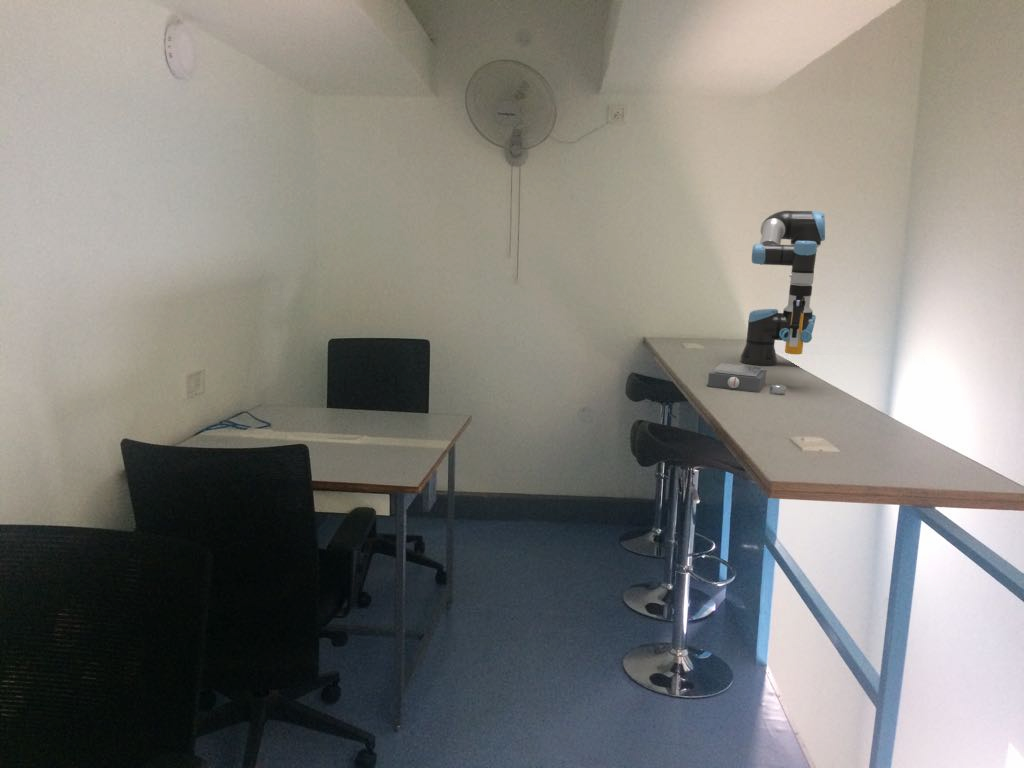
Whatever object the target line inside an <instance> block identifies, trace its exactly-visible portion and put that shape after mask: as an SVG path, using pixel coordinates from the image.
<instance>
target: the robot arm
mask: <svg viewBox="0 0 1024 768" xmlns="http://www.w3.org/2000/svg"><path fill="white" fill-rule="evenodd" d="M825 218H826V217H825V214H824V212H822V211H816V210H782V211H777V212H774V213H773V214H771V215H770V216H767V218H765V220H763V222H762V223H761V226H760V235H761V237H760V242H759V243H754V244H753V245H752V251H751V262H752V264H754V265H755V264H756V265H763V266H764V265H765V266H767V265H769V266H788V267H789V266H790V267H791V273H790V274H789V276H788V277H790V283H789V292H788V300H787V302H788V303H787V305H786V306H785V307H784V308H783V311H782V312H779V310H778V309H777V308H766V309H765V308H764V309H755V310H752V311H750V312H749V315H748V320H747V331H746V332H747V334H746V343H745V346H744V348H743V349H742V353H741V354H740V359H739V360H740V362H741V363H742V364H747V365H751V366H764V367H765V366H766V367H767V366H776V365H777V363H778V362H777V361H778V357H777V354H776V348H775V343H776V341H783V340H782V339H781V337H780V335H779V333H780V331H781V330H782V329H784V328H786V329H788V330H789V331H790V328H791V333H790V342H789V346H790V347H797V344H798V335H799V323H800V317H801V313H802V312H803V313H804V316H803V325H802V330H804V329H806V330H808V332H810V333H811V335H812V336H813V332H814V327H815V321H816V318H817V316H816V315H815V314H814V313H813V309H812V308H811V307H810V304H811V297H812V292H813V284H814V276H815V273H814V272H815V265H816V258H817V252H818V248H820V247H821V244H822V242H824V241H825V240H826V222H825V221H826V220H825ZM782 240H789V241H790V244H782ZM792 312H793V317H792ZM791 318H792V324H791ZM784 331H786V330H784ZM784 331H783V332H784ZM783 332H782V334H783ZM786 337H788V332H786V333H785V335H784V338H786ZM806 337H807V333H805V334H803V339H805V338H806ZM809 338H810V336H809V337H808V339H807V340H809ZM807 340H806V341H807Z"/></svg>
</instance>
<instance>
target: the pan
mask: <svg viewBox="0 0 1024 768" xmlns="http://www.w3.org/2000/svg"><path fill="white" fill-rule="evenodd" d="M716 366H717V365H716ZM716 366H715V367H716ZM715 367H714V368H715ZM714 368H713V369H714ZM761 370H763V366H762V367H761V366H755V365H742V364H734V363H733V364H731V363H724V362H723V363H721V362H720V364H719V366H717V367H716V368H715V369H714V372H717V373H727V374H736V375H745V376H755V377H757V376H758V374H759V373H760V372H761Z"/></svg>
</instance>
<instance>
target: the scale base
mask: <svg viewBox="0 0 1024 768" xmlns="http://www.w3.org/2000/svg"><path fill="white" fill-rule="evenodd" d="M719 365H720V364H719ZM719 365H716V366H715V367H713V369H712V370H711V371H710V372H708V378H707V387H708V388H718V389H726V390H736V391H743V390H744V391H745V392H751V391H753V392H754V393H761V390H762V389H763V387H764V386H765V384H766V380H767V379H766V377H767V370H764V369H762V370H761V372H760V373H759V374H758V376H757V377H755V376H745V375H736V374H727V373H717V372H714V369H715V368H716V367H717V366H719ZM753 392H752V393H753Z"/></svg>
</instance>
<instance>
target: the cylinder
mask: <svg viewBox="0 0 1024 768" xmlns="http://www.w3.org/2000/svg"><path fill="white" fill-rule="evenodd" d="M803 316H804V313H803V312H802V313H801V317H800V323H799V335H798V344H797V347H790V346H789V342H790V333H791V328H790V331H789V330H788V329H786V328H784V329H782V330H781V331H780V333H779V335H780V337H781V339H782V340H781V341H783V342H785V346H784V348H785V349H784V352H785V354H789V355H803V348H804V343H805V344H808V343H810V342H811V341H812V339H813V334H812V335H811V333H810V332H808V330H806V329H804V330H802V325H803ZM792 317H793V312H792ZM791 324H792V318H791ZM784 330H786V331H784ZM783 331H784V332H783ZM782 332H783V334H782ZM786 332H788V337H786V338H784V335H785V333H786ZM805 333H807V337H806V338H805V339H803V334H805ZM809 336H810V338H809V340H807V339H808V337H809ZM806 340H807V341H806Z"/></svg>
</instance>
